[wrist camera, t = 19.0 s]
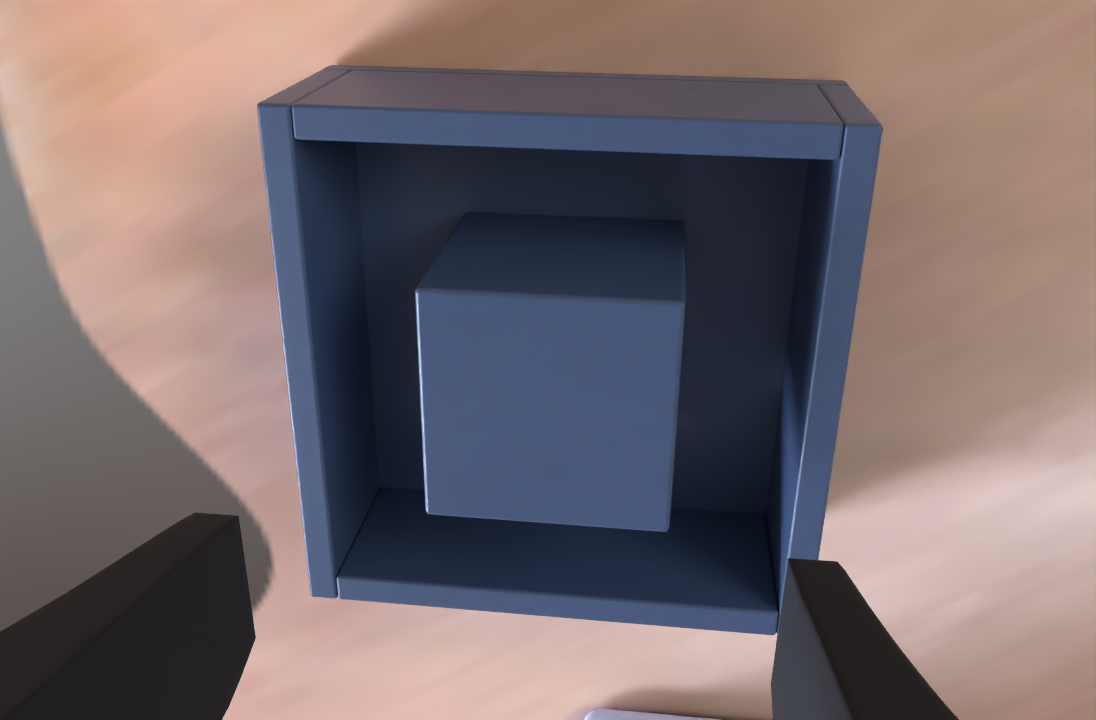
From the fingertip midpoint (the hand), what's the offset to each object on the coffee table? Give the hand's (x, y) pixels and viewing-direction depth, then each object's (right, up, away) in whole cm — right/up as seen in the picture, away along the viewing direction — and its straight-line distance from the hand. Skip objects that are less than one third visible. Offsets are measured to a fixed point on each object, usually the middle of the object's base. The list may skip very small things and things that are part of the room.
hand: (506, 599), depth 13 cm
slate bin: (+1, +4, +9) cm, 10 cm away
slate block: (+1, +4, +8) cm, 9 cm away
